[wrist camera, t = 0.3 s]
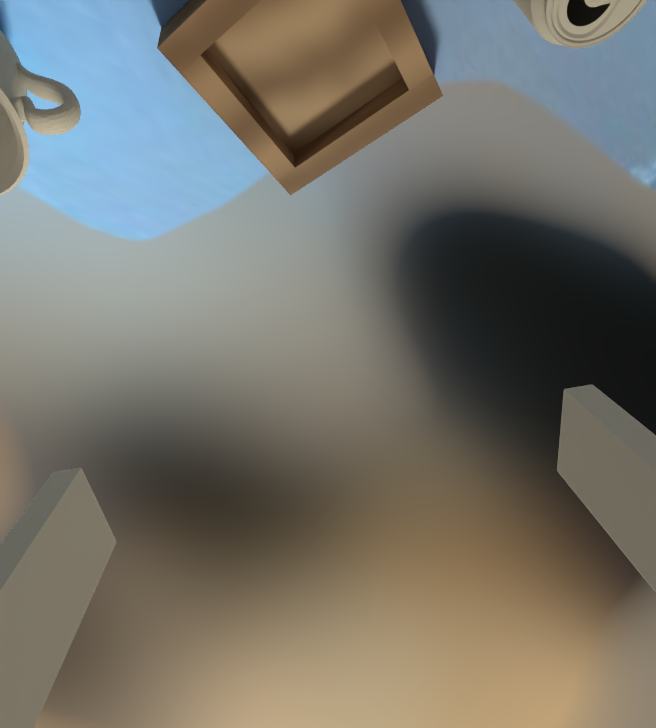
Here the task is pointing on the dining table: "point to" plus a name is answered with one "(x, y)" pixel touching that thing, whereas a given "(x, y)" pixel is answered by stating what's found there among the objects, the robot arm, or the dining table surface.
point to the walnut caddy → (302, 75)
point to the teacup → (27, 113)
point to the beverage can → (579, 19)
